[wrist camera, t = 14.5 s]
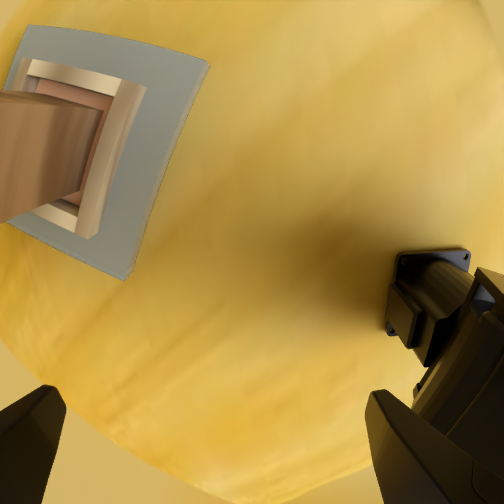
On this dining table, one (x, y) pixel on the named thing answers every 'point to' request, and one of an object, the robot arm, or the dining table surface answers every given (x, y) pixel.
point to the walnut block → (42, 149)
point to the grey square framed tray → (108, 135)
